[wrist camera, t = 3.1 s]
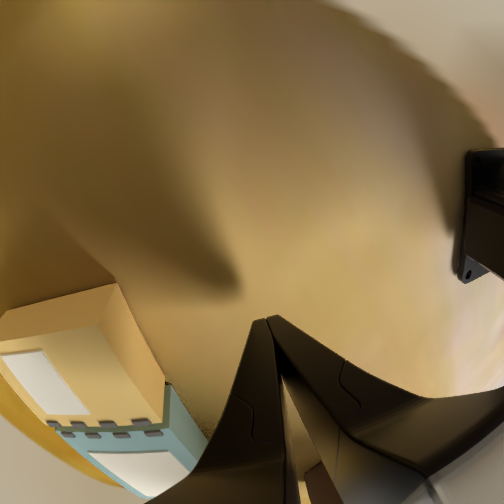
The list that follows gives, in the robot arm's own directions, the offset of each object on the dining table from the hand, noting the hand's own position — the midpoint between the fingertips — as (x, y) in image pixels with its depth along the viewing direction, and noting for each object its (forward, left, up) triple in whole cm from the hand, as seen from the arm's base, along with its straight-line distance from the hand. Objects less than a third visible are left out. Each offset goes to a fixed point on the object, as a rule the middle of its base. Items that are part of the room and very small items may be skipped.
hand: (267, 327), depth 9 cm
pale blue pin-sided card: (+7, +7, -1) cm, 11 cm away
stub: (+7, 0, -1) cm, 8 cm away
